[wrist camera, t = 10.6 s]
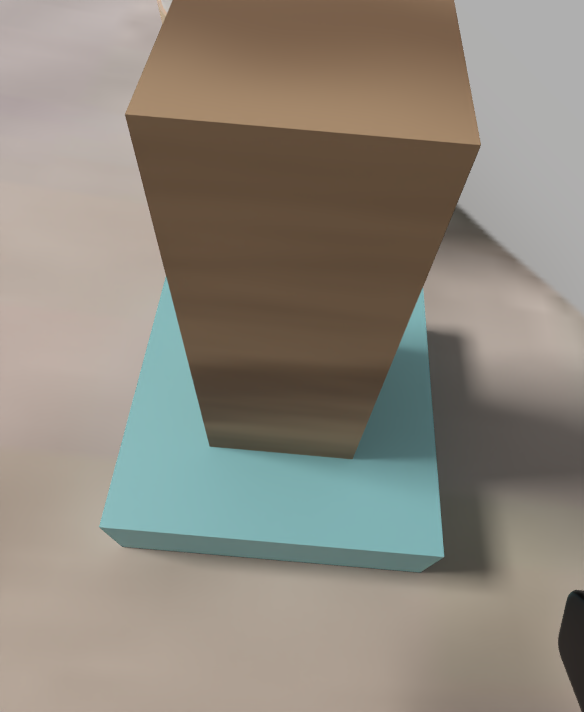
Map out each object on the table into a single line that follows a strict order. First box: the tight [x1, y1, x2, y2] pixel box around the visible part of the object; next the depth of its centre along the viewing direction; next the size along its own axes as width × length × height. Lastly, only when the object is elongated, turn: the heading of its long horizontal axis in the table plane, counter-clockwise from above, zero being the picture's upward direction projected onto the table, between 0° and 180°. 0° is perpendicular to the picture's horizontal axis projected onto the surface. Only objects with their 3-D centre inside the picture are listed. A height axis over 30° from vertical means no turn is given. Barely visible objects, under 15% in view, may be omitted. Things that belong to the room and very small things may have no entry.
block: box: [125, 0, 481, 459], centre depth 14 cm, size 5×5×12 cm
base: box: [99, 277, 444, 572], centre depth 20 cm, size 11×11×3 cm
